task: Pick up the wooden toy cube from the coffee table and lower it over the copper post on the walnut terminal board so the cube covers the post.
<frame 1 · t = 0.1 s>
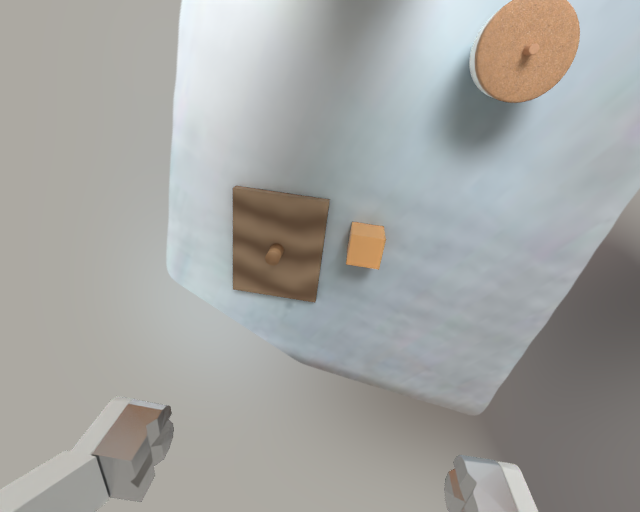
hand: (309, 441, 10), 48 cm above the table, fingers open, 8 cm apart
post block: (278, 245, 61), on the table
wooden toy cube: (364, 238, 58), on the table
lidded jar: (500, 55, 45), on the table
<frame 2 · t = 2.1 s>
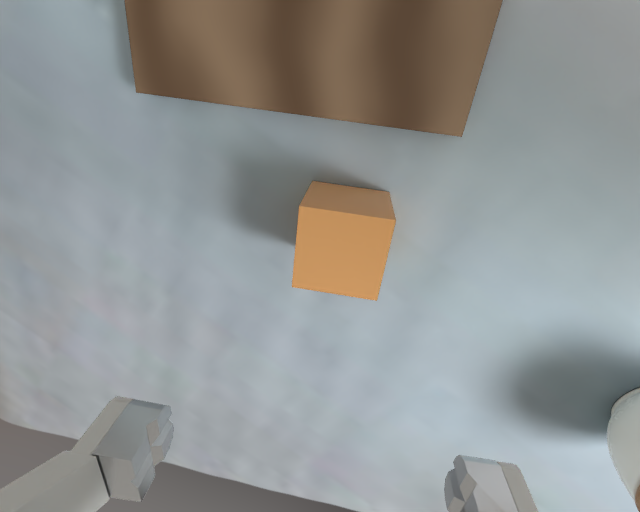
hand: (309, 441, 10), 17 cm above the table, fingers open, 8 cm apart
wooden toy cube: (344, 222, 25), on the table
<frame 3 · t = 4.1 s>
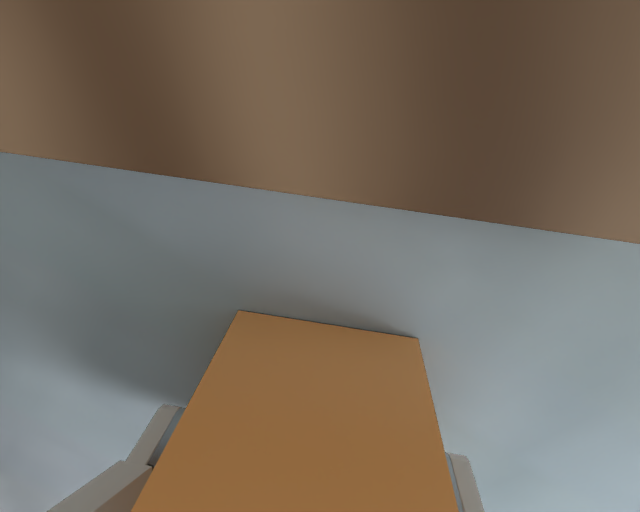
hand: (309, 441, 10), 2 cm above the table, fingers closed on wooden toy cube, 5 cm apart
wooden toy cube: (317, 387, 11), on the table, touching gripper
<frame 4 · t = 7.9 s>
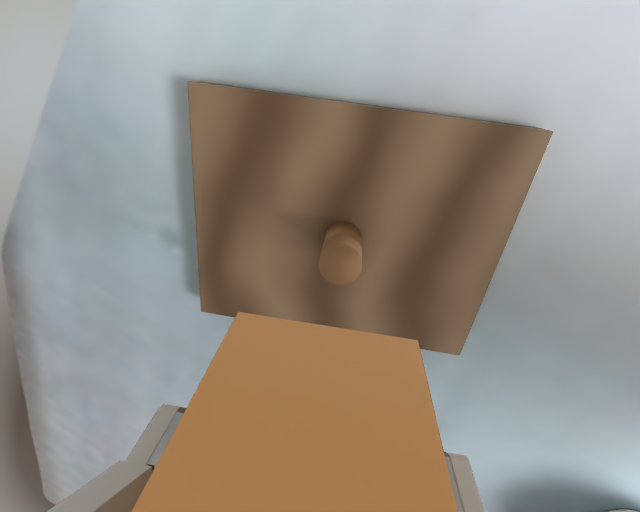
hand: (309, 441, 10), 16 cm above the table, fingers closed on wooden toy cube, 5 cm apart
post block: (344, 229, 23), on the table
wooden toy cube: (316, 389, 11), point 14 cm above the table, touching gripper
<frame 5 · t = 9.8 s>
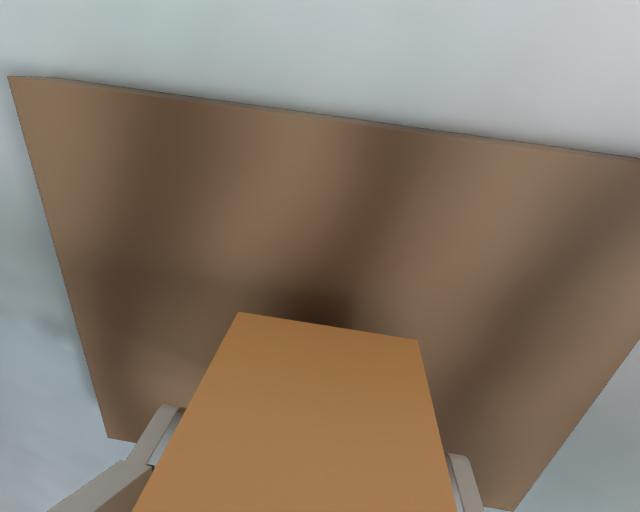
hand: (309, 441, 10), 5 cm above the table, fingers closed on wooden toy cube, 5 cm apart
post block: (329, 325, 14), on the table
wooden toy cube: (316, 389, 11), point 3 cm above the table, touching gripper
when the fingers open (4 cm above the table, at t = 11.3 s): wooden toy cube stays where it is, resting on post block.
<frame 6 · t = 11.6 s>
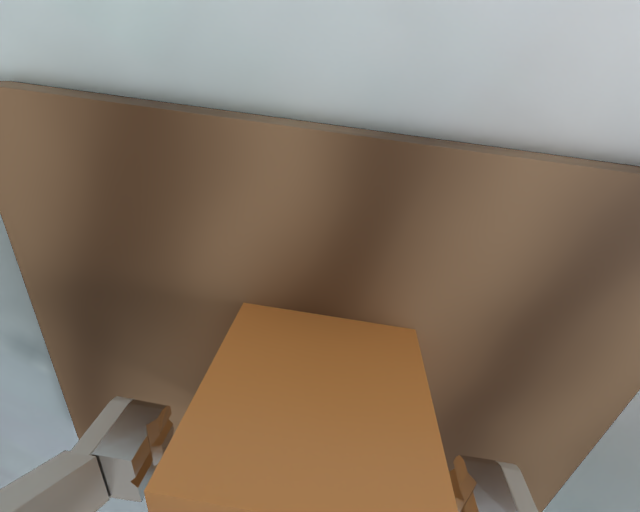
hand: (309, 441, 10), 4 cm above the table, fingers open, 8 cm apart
post block: (321, 346, 13), on the table
wooden toy cube: (318, 377, 12), point 1 cm above the table, touching post block
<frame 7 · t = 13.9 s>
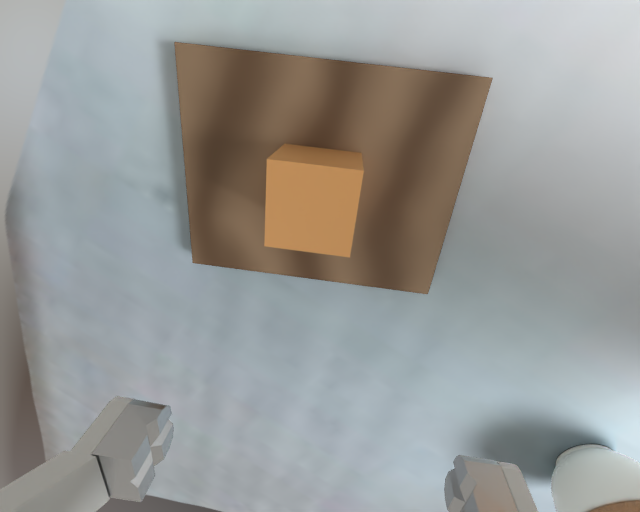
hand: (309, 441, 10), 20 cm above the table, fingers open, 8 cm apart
post block: (320, 180, 26), on the table
wooden toy cube: (319, 186, 25), point 1 cm above the table, touching post block
lidded jar: (583, 459, 38), on the table
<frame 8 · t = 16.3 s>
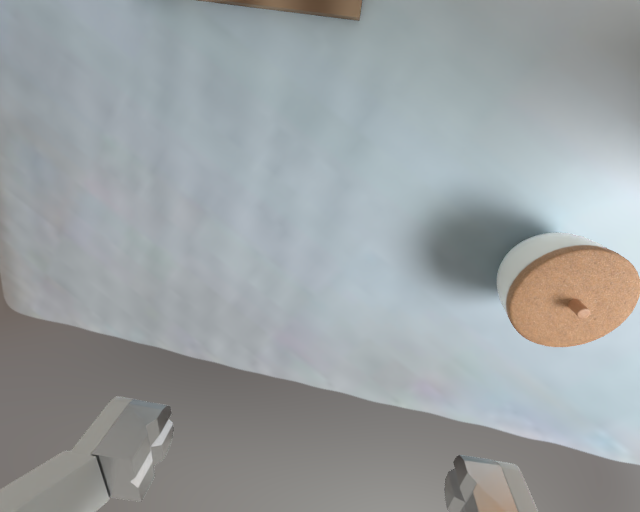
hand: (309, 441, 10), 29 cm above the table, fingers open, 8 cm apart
lidded jar: (532, 261, 37), on the table
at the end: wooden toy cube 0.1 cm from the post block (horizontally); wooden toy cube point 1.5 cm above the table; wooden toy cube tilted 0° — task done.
